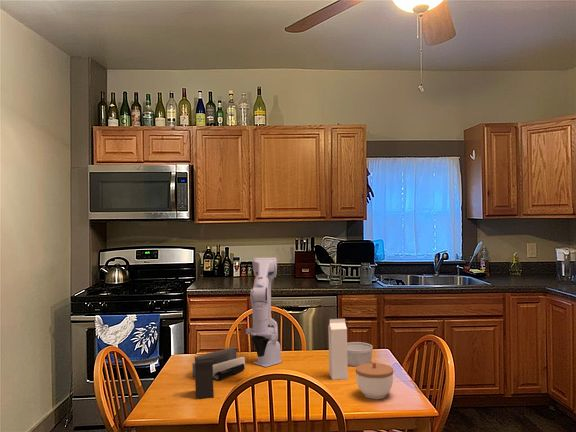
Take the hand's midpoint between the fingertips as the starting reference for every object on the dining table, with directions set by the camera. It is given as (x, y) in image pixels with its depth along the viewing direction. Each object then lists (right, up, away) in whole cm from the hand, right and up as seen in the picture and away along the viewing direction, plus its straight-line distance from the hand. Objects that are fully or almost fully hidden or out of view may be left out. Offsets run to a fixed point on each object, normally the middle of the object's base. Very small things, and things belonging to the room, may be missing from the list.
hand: (260, 356), depth 184 cm
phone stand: (-19, -10, -12) cm, 25 cm away
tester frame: (-17, -10, +12) cm, 23 cm away
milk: (+29, -9, +3) cm, 31 cm away
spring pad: (-15, -9, +10) cm, 20 cm away
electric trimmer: (-13, -10, +8) cm, 18 cm away
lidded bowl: (+40, -9, -16) cm, 44 cm away
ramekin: (+39, -9, +21) cm, 45 cm away
